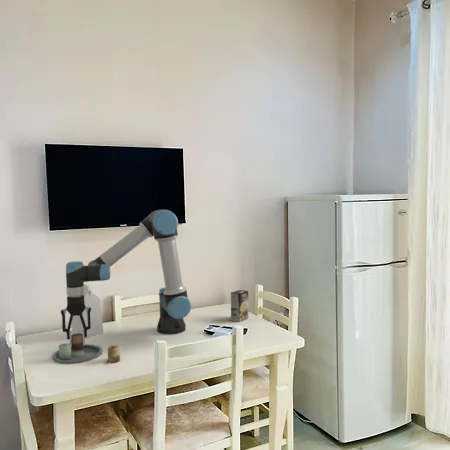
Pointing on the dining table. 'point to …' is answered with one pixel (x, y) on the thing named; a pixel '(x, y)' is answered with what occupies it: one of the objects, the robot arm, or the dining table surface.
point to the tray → (80, 354)
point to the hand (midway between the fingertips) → (77, 344)
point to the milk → (95, 315)
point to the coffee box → (239, 305)
